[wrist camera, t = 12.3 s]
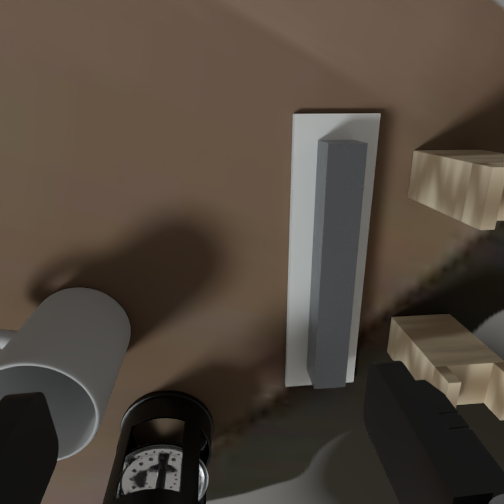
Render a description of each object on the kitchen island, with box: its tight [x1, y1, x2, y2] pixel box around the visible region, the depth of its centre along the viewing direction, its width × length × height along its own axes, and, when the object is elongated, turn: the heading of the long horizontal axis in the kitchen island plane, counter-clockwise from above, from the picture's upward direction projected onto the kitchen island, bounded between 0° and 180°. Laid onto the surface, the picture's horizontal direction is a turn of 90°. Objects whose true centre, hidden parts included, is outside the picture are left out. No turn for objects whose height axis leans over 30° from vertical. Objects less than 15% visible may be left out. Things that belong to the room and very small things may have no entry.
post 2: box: [387, 314, 504, 420], centre depth 35 cm, size 4×6×10 cm, turn 90°
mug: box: [0, 287, 131, 461], centre depth 31 cm, size 12×8×11 cm
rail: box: [306, 140, 368, 389], centre depth 34 cm, size 22×3×3 cm, turn 1°
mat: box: [285, 113, 381, 387], centre depth 36 cm, size 26×7×1 cm, turn 0°
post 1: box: [408, 150, 504, 230], centre depth 30 cm, size 4×6×10 cm, turn 90°
